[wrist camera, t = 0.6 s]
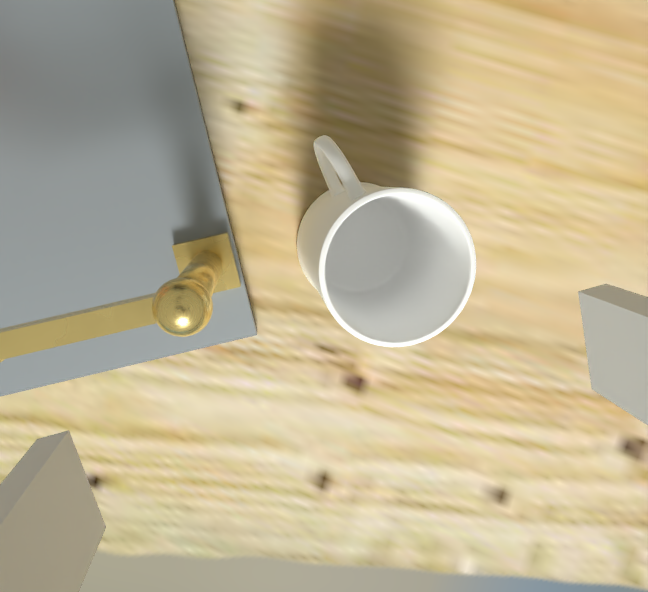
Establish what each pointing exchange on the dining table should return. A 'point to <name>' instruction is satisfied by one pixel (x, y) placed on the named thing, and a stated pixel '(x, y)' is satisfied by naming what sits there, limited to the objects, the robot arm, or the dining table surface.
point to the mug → (384, 255)
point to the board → (101, 179)
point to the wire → (141, 303)
